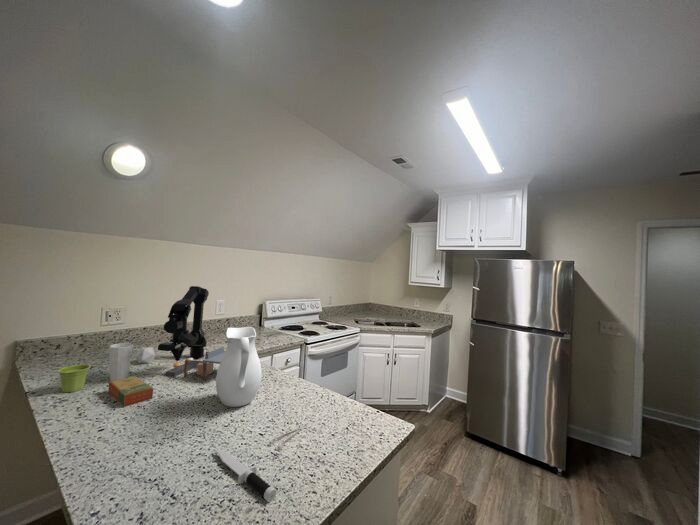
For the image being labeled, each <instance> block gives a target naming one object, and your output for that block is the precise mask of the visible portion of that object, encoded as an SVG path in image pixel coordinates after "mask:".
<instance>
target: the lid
mask: <svg viewBox="0 0 700 525" xmlns="http://www.w3.org/2000/svg"><path fill="white" fill-rule="evenodd" d="M208 352H209V353H206V352H205V354H206V359H205V358H204V359H202V361H203V362H208V363H214V364H218V365H220V363H221V361H222V358H223V356H224V354H225V352H226V350H225V347H223V346H222V347H219V348H217V349H214V350H212V351H208Z"/></svg>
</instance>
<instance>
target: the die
mask: <svg viewBox="0 0 700 525" xmlns="http://www.w3.org/2000/svg"><path fill="white" fill-rule="evenodd" d="M134 357H135V360H136V362H137V364H138V365H142V364H143V365H144V364H150V363H151V362H152V361H153V360H154V358H155V357H156V352H155V350H154V347H153V346H149V347H141V348H140V349H139V350H138V351H137V353H135V354H134Z"/></svg>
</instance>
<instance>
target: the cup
mask: <svg viewBox="0 0 700 525" xmlns="http://www.w3.org/2000/svg"><path fill="white" fill-rule="evenodd" d="M108 348H109V349H108V350H109V376H110V377H109V380H110V381H109V382H112V381H116V380H120V379H124V378H129V372H130V366H131V360H132V354H133V349H134V343H133V342H122V343H121V342H120V343H115V344H114V343H113V344H111V345H109V347H108Z"/></svg>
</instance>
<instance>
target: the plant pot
mask: <svg viewBox="0 0 700 525" xmlns="http://www.w3.org/2000/svg"><path fill="white" fill-rule="evenodd" d="M89 369H91V365H89V364H77V365H76V364H75V365H69V366H65V367H62V368H60V369H59V370H57V372H58V373H59V376H60V382H61V391H62V393H65V394H66V393H69V392H70V393H76V392H77V391H80V390H83V388H84V387H85V383H86V379H87V376H88V375H87V374H88V372H89Z"/></svg>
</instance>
